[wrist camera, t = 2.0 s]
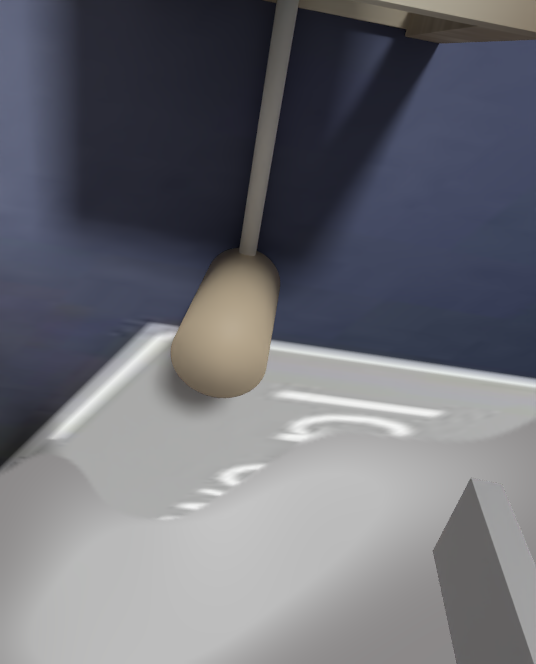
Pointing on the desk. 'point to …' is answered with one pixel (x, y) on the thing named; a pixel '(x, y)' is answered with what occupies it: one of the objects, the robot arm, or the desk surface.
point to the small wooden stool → (441, 17)
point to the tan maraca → (240, 265)
